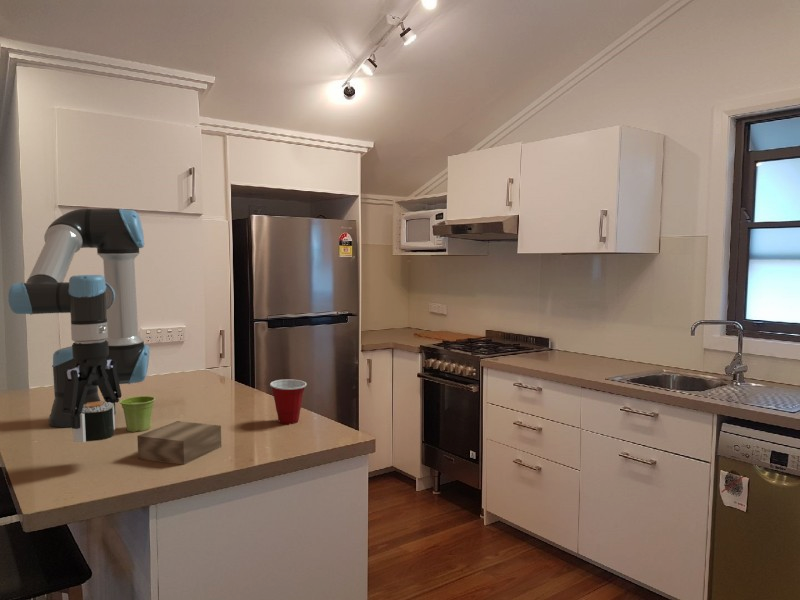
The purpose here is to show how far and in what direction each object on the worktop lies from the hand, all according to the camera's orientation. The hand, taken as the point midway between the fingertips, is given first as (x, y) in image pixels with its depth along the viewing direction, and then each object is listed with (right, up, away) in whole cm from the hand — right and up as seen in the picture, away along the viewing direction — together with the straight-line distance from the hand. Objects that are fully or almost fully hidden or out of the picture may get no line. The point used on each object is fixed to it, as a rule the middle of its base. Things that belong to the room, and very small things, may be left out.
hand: (95, 435), depth 137 cm
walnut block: (+17, -7, +9) cm, 21 cm away
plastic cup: (+39, -5, +37) cm, 54 cm away
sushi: (0, 0, 0) cm, 0 cm away
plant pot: (-3, -6, +31) cm, 32 cm away
